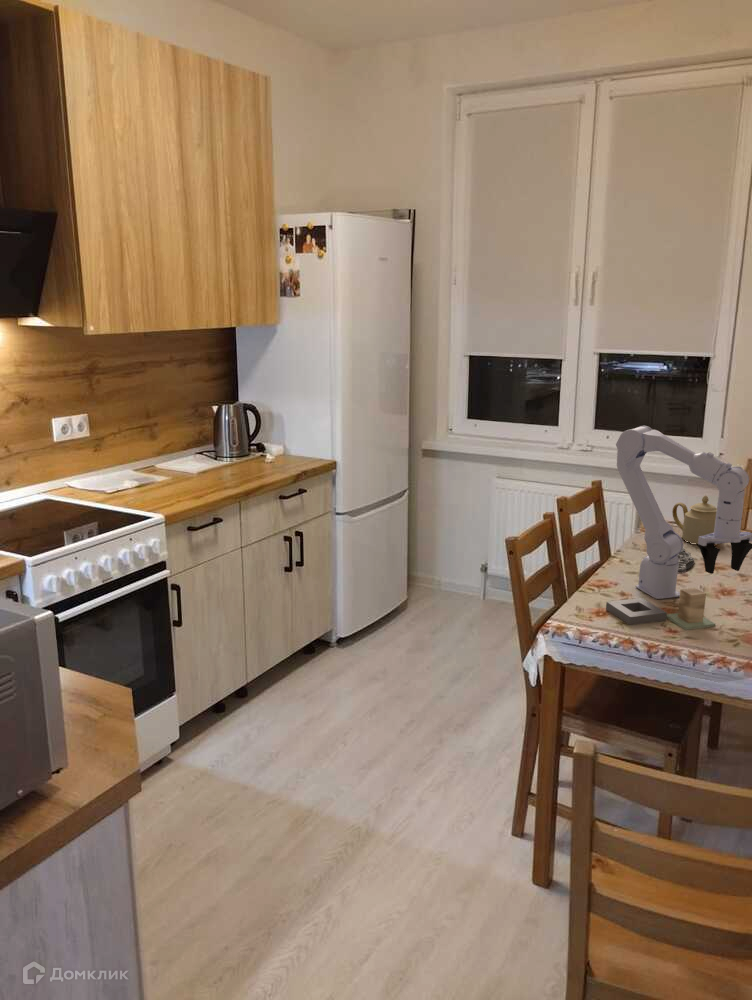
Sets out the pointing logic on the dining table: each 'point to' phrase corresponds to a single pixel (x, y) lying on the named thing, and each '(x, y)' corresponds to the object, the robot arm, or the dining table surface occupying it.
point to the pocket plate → (643, 616)
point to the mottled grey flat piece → (685, 561)
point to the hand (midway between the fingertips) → (722, 570)
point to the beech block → (691, 605)
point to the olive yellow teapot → (696, 520)
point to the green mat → (688, 626)
